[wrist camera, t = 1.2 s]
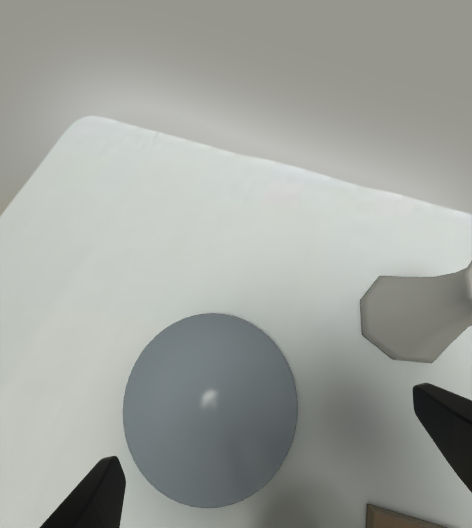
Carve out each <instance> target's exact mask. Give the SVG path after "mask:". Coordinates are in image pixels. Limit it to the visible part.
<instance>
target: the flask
mask: <svg viewBox="0 0 472 528" xmlns="http://www.w3.org/2000/svg"><path fill="white" fill-rule="evenodd" d="M361 317H362V335H364V336H365V337H366V338H367V339H369V340H370V341H371V342H372V343H374V344H375V345H376V346H377V347H379V348H380V349H381V350H382V351H384V352H385V353H386V354H387V355H389V356H390V357H391V358H392V359H394V360H404V361H414V362H424V363H433V362H434V361H435V360H436V359H437V358H438V357H439V355H440V354H441V353H442V352H443V351H444V350H445V349H446V348H447V347H448V346H449V345H450V344H451V343H452V342H453V341H454V340H455V339H456V338H457V337H458V336H459V335H460V334H461V333H462V332H463V331H465V330H466V329H467V328H468V327H469V326H471V325H472V261H471V263H470V264H469V266H468V267H467V268H465V269H463V270H461V271H458V272H456V273H452V274H447V275H442V276H437V277H396V276H379V277H378V279H377V280H376V281H375V282H374V284H373V285H372V286H371V288H370V289H369V290H368V291H367V293H366V294H365V295H364V296H363V298H362V299H361Z"/></svg>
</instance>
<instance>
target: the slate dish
mask: <svg viewBox="0 0 472 528" xmlns="http://www.w3.org/2000/svg"><path fill="white" fill-rule="evenodd" d="M296 421H297V395H296V388H295V384H294V380H293V376H292V374H291V371H290V368H289V366H288V364H287V362H286V360H285V358H284V356H283V354H282V353H281V351H280V350H279V348H278V347H277V346H276V344H275V343H274V342H273V341H272V340H271V339H270V338H269V337H268V336H267V335H266V334H265V333H264V332H263V331H261V330H260V329H258V328H257V327H256V326H254V325H253V324H251V323H249V322H247V321H245V320H243V319H240V318H237V317H234V316H230V315H225V314H214V313H213V314H201V315H195V316H191V317H188V318H185V319H182V320H180V321H178V322H176V323H174V324H172V325H170V326H169V327H167V328H166V329H164V330H163V331H162V332H160V333H159V334H158V335H157V336H156V337H155V338H154V339H153V340H152V341H151V342H150V343H149V344H148V345H147V346H146V348H145V349H144V350H143V352H142V353H141V354H140V356H139V358H138V359H137V361H136V363H135V365H134V367H133V369H132V371H131V374H130V376H129V379H128V382H127V386H126V390H125V395H124V403H123V425H124V431H125V437H126V440H127V444H128V448H129V450H130V453H131V455H132V457H133V460H134V461H135V463H136V465H137V467H138V468H139V470H140V472H141V473H142V474H143V475H144V477H145V478H146V479H147V480H148V482H150V483H151V484H152V485H153V486H154V487H155V488H156V489H157V490H158V491H160V492H161V493H163V494H164V495H165V496H167V497H168V498H171V499H173V500H175V501H177V502H179V503H182V504H185V505H189V506H192V507H200V508H217V507H222V506H227V505H231V504H234V503H236V502H239V501H242V500H244V499H245V498H247V497H249V496H251V495H252V494H254V493H255V492H257V491H258V490H259V489H260V488H262V487H263V486H264V485H265V484H266V483H267V482H268V481H269V480H270V479H271V478H272V477H273V476H274V474H275V473H276V472H277V470H278V469H279V468H280V466H281V464H282V463H283V461H284V459H285V457H286V455H287V453H288V451H289V448H290V446H291V443H292V440H293V436H294V432H295V429H296Z"/></svg>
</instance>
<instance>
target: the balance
mask: <svg viewBox="0 0 472 528" xmlns="http://www.w3.org/2000/svg"><path fill="white" fill-rule="evenodd" d="M366 528H446V527H443V526H440V525H436V524H433V523H430V522H426V521H423V520H420V519H416V518H413V517H410V516H406V515H403V514H400V513H396V512H393V511H390V510H386V509H383V508H380V507H376V506H373V505H370V504H368V505H367V519H366Z"/></svg>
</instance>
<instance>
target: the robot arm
mask: <svg viewBox="0 0 472 528" xmlns="http://www.w3.org/2000/svg"><path fill="white" fill-rule="evenodd" d="M413 403H414V411H415V414H416V416H417V417H418V419H419V420H420V422H421V423H422V425H423V426H424V428H425V429H426V431H427V432H428V433H429V435H430V436H431V438H432V439H433V441H434V442H435V444H436V445H437V447H438V448H439V450H440V451H441V453H442V454H443V456H444V457H445V458H446V460H447V461H448V463H449V464H450V466H451V467H452V468H453V470H454V471H455V472H456V474H457V475H458V476H459V477H460V479H461V480H462V481H463V482H464V484H465V485H466V486H467V487H468V489H469V490H470V491H471V492H472V401H471V400H469V399H467V398H464V397H462V396H459V395H457V394H454V393H452V392H449V391H447V390H444V389H442V388H439V387H437V386H434V385H432V384H429V383H423V384H419V385H415V386H414V387H413ZM125 486H126V480H125V475H124V473H123V470H122V467H121V465H120V462H119V459H118V457H117V456H111V457H106V458H103V459H101V460H100V461H99V462H98V463H97V464H96V465H95V466H94V468H93V469H92V470H91V471H90V472H89V473H88V474H87V475H86V476H85V478H84V479H83V480H82V481H81V482H80V483H79V484H78V485H77V487H76V488H75V489H74V490H73V491H72V492H71V493H70V494H69V495H68V497H67V498H66V499H65V500H64V501H63V502H62V503H61V504H60V506H59V507H58V508H57V509H56V510H55V511H54V512H53V513H52V514H51V516H50V517H49V518H48V519H47V520H46V521H45V522H44V523H43V525H42V526H41V527H40V528H119V526H120V520H121V513H122V506H123V500H124V493H125Z"/></svg>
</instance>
